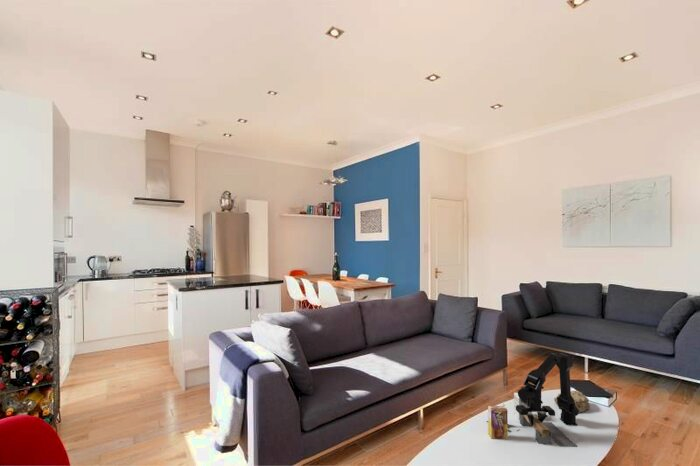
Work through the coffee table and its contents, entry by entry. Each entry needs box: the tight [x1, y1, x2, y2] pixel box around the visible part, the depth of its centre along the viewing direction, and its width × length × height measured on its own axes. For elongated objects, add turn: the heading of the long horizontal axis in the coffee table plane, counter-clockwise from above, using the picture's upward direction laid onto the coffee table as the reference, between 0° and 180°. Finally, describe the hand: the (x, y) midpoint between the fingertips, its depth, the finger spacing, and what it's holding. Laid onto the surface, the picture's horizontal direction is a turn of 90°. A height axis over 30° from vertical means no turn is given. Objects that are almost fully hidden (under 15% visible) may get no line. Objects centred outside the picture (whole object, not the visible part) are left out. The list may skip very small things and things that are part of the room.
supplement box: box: [513, 392, 529, 420], centre depth 195 cm, size 7×7×13 cm
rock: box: [553, 390, 591, 413], centre depth 208 cm, size 21×14×10 cm
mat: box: [542, 421, 578, 448], centre depth 178 cm, size 9×22×1 cm, turn 179°
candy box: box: [487, 405, 509, 440], centre depth 174 cm, size 9×4×15 cm, turn 89°
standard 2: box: [535, 430, 553, 445], centre depth 170 cm, size 7×3×6 cm, turn 89°
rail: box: [523, 413, 549, 437], centre depth 178 cm, size 4×20×4 cm, turn 0°
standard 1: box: [519, 415, 534, 428], centre depth 186 cm, size 7×3×6 cm, turn 89°
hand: (535, 426), depth 178 cm, fingers closed on rail, 3 cm apart
